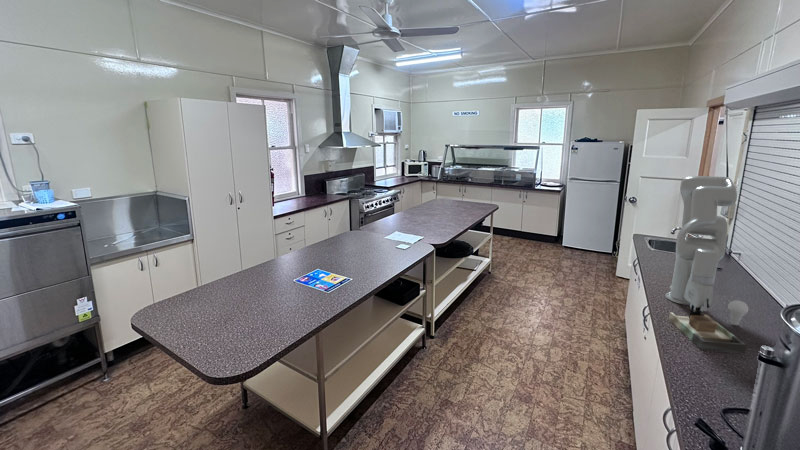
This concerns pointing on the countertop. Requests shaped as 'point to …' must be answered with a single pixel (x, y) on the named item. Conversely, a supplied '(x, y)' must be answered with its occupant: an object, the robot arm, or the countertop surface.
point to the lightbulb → (737, 311)
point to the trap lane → (709, 336)
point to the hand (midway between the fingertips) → (694, 319)
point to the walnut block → (702, 323)
